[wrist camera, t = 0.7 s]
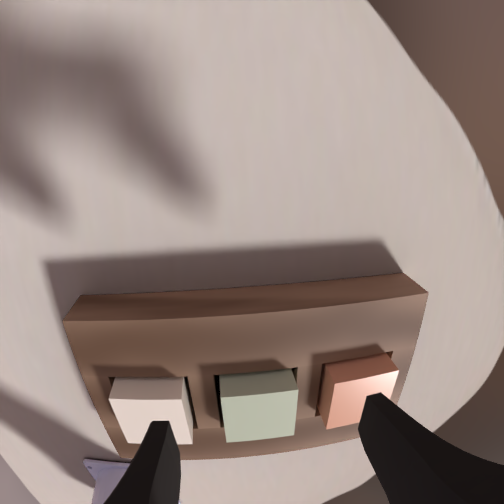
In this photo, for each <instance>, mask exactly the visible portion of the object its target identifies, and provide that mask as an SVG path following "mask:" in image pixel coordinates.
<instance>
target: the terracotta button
mask: <svg viewBox="0 0 504 504" xmlns="http://www.w3.org/2000/svg"><path fill="white" fill-rule="evenodd" d="M398 372H399V369H398V368H397V367H396V365H395V364H394V363H393V361H392V360H391V359H390V357H389V356H388V355H387V353H386V352H385V353H380V354H375V355H370V356H364V357H359V358H353V359H348V360H342V361H336V362H329V363H323V364H322V369H321V377H320V384H319V391H318V398H317V407H318V410H319V413H320V415H321V418H322V420H323V423H324V425H325V428H326V429H331V428H336V427H341V426H346V425H350V424H354V423H359V422H360V419H361V415H362V411H363V408H364V404H365V400H366V396H368V395H372V394H376V393H380V392H381V393H382V394H384V395H385V396H386V397H387V398H389V399H390V398H391V395H392V392H393V389H394V385H395V382H396V379H397V376H398Z"/></svg>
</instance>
